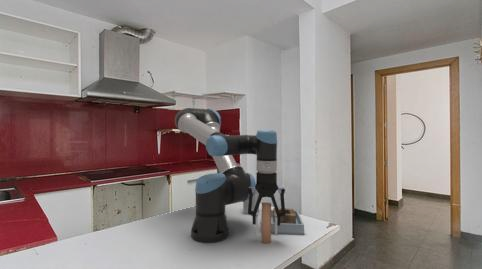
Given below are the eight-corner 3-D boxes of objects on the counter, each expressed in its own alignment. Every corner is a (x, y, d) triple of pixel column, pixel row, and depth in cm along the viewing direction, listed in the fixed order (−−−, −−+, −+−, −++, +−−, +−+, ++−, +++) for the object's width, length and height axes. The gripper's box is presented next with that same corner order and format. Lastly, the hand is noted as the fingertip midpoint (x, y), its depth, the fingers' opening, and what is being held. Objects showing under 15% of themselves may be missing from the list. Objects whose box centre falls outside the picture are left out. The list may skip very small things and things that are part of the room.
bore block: (274, 227, 100) (274, 214, 100) (273, 219, 109) (273, 208, 109) (295, 228, 99) (296, 215, 99) (293, 220, 108) (293, 208, 108)
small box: (247, 209, 126) (248, 184, 126) (259, 210, 124) (259, 185, 124) (242, 213, 119) (242, 187, 119) (255, 215, 117) (255, 188, 116)
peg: (261, 243, 87) (261, 205, 87) (261, 238, 91) (261, 202, 91) (271, 243, 87) (271, 205, 87) (270, 239, 91) (271, 202, 90)
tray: (260, 233, 96) (261, 223, 96) (261, 217, 113) (261, 209, 113) (303, 234, 95) (304, 224, 95) (297, 219, 112) (297, 210, 111)
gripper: (239, 172, 86) (239, 236, 86) (294, 173, 84) (294, 239, 84) (241, 169, 93) (241, 228, 94) (291, 170, 92) (291, 230, 92)
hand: (266, 233), depth 89 cm, fingers open, 6 cm apart
